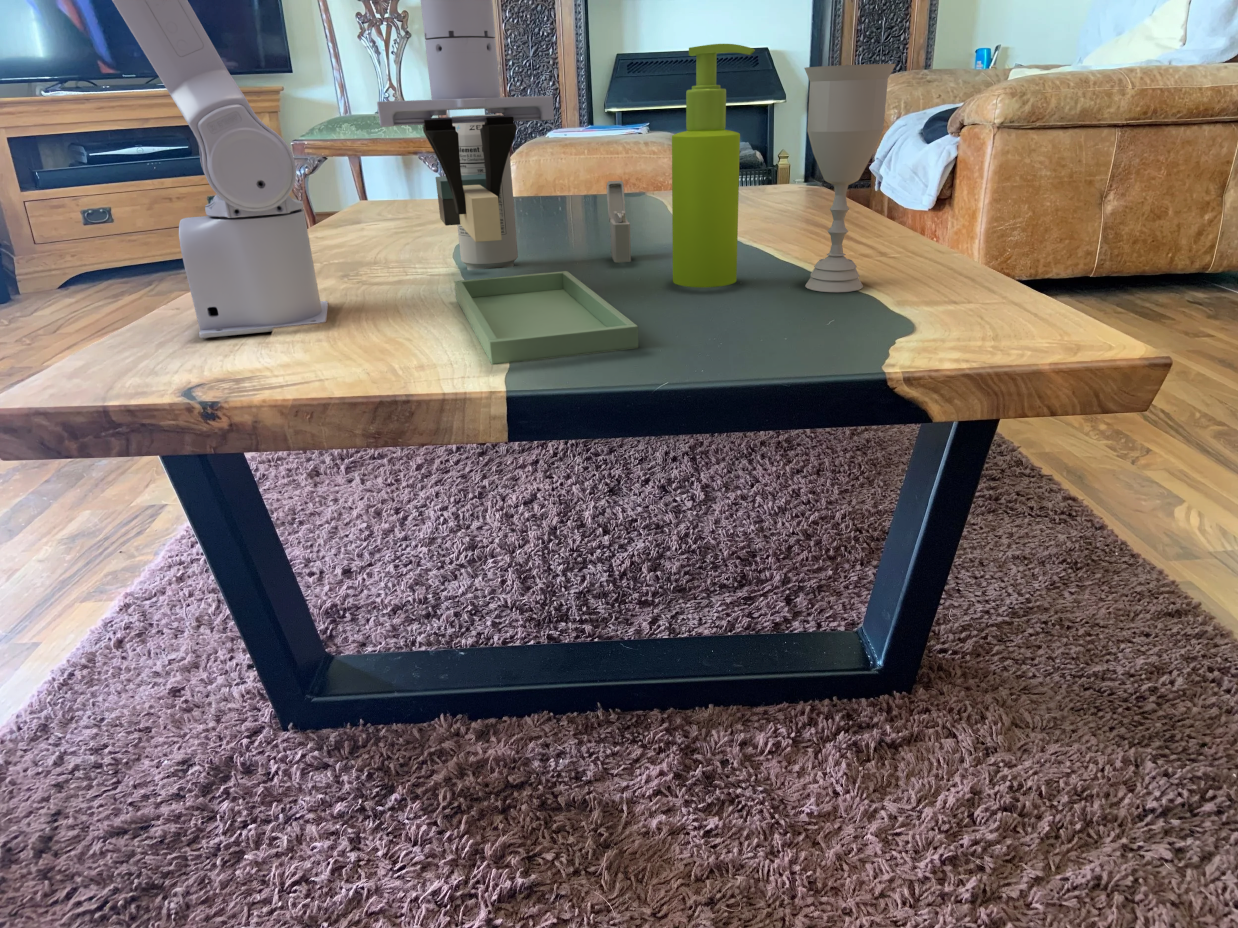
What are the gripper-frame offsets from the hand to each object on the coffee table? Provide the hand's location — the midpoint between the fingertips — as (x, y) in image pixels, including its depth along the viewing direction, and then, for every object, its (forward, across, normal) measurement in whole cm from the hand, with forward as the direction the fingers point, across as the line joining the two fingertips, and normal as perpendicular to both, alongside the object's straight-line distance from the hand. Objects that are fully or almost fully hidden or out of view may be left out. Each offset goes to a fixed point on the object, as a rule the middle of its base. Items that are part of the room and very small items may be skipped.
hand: (477, 212), depth 74 cm
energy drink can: (+8, +2, +13) cm, 15 cm away
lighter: (+8, +16, +11) cm, 21 cm away
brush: (+2, 0, +3) cm, 3 cm away
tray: (+7, +2, -13) cm, 15 cm away
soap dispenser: (+8, +20, -5) cm, 22 cm away
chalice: (+8, +30, -10) cm, 33 cm away
